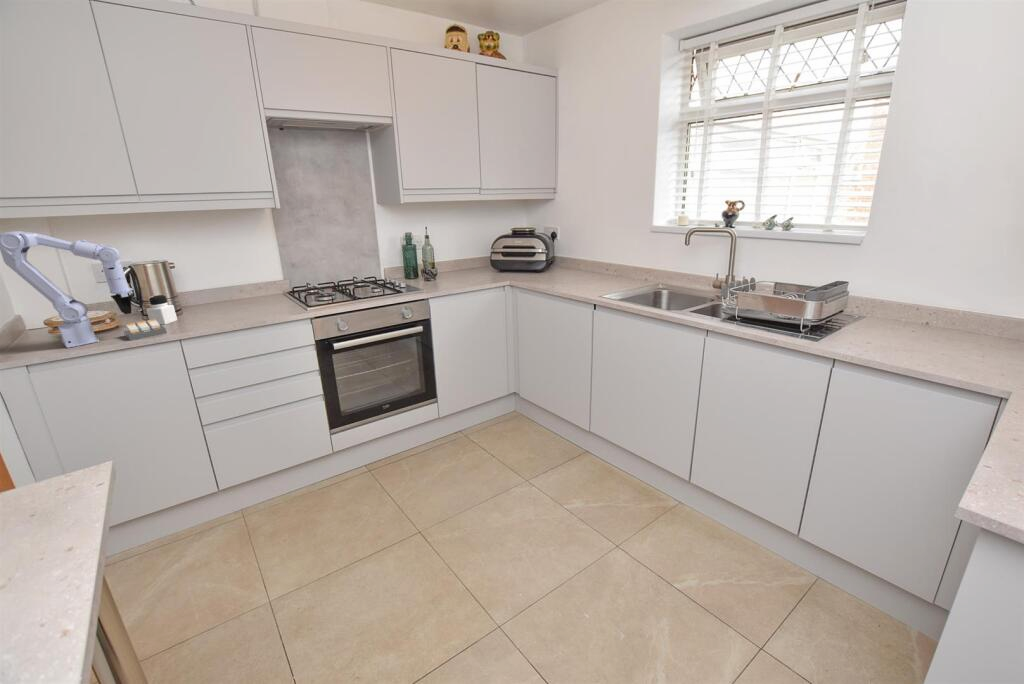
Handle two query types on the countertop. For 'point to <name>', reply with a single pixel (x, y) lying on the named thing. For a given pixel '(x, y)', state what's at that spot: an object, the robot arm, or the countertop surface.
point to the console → (144, 333)
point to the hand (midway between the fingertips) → (126, 312)
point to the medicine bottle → (161, 310)
